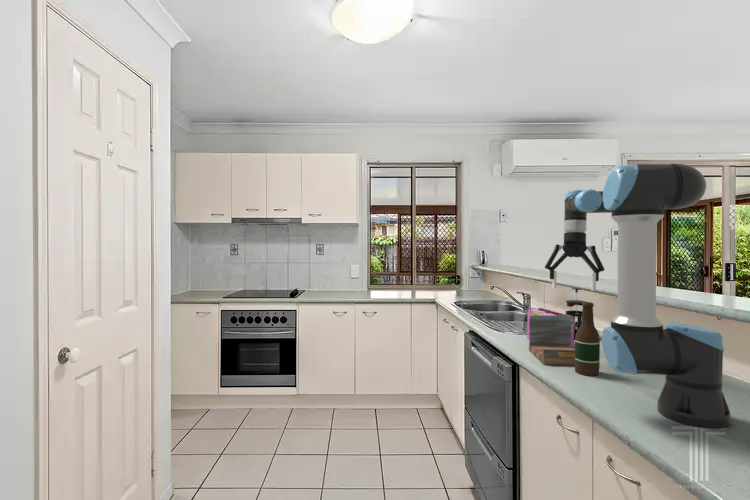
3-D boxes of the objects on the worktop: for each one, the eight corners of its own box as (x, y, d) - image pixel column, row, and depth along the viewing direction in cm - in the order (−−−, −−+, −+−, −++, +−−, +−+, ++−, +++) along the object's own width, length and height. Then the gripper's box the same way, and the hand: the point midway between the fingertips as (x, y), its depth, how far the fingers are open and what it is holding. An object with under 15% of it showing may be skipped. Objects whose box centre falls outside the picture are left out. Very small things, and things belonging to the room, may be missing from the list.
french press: (591, 341, 188) (591, 289, 188) (568, 340, 190) (569, 289, 189) (582, 335, 200) (582, 286, 199) (561, 334, 201) (561, 286, 201)
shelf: (589, 366, 152) (590, 325, 152) (543, 365, 154) (544, 325, 153) (569, 351, 172) (569, 315, 172) (528, 350, 174) (529, 315, 173)
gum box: (524, 337, 197) (524, 308, 196) (539, 336, 199) (540, 307, 198) (558, 350, 173) (558, 317, 173) (574, 349, 175) (575, 316, 175)
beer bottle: (603, 377, 140) (604, 304, 139) (577, 375, 142) (578, 303, 141) (595, 370, 148) (596, 301, 147) (571, 368, 149) (572, 300, 149)
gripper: (607, 234, 160) (606, 290, 159) (537, 232, 164) (536, 287, 163) (615, 232, 153) (613, 291, 152) (541, 230, 157) (540, 287, 156)
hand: (573, 289), depth 158 cm, fingers open, 13 cm apart
